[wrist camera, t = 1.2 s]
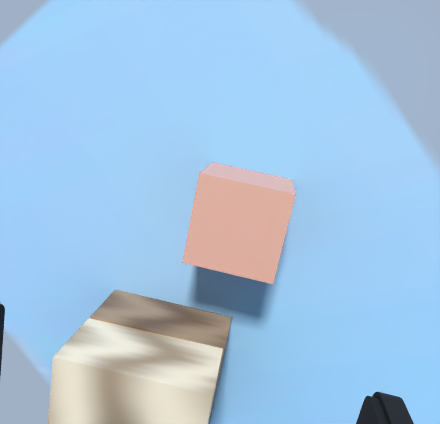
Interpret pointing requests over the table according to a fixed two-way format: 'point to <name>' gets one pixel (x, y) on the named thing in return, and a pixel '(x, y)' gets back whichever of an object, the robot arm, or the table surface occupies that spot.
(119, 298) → the walnut base block
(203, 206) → the terracotta cube
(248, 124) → the table surface
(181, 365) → the maple top block
